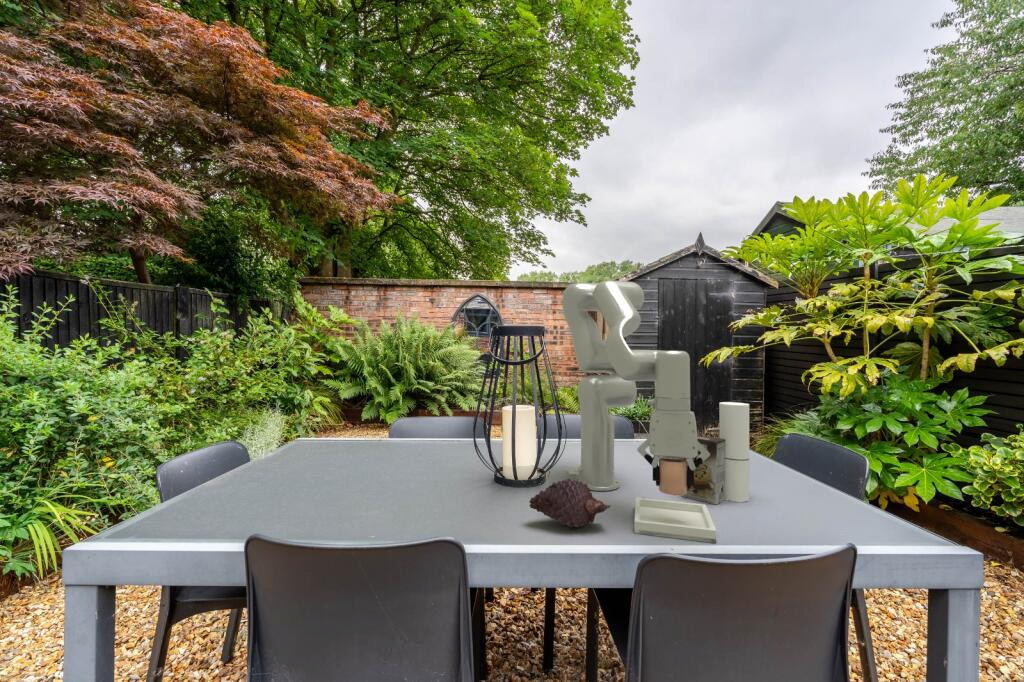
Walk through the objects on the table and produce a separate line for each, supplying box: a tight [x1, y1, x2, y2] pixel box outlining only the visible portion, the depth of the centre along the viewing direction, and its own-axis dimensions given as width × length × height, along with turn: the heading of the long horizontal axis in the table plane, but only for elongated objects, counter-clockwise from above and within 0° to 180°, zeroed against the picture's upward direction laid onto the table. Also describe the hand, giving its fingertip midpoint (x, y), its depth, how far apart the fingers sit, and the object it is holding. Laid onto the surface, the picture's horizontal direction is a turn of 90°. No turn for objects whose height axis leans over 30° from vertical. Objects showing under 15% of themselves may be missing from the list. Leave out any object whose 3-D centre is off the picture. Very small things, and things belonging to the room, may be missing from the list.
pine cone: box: [528, 478, 611, 528], centre depth 98 cm, size 18×10×10 cm, turn 83°
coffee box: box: [681, 434, 725, 506], centre depth 117 cm, size 9×6×16 cm
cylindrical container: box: [718, 401, 750, 503], centre depth 118 cm, size 7×7×25 cm
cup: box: [658, 457, 687, 496], centre depth 99 cm, size 6×6×7 cm
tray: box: [634, 497, 717, 544], centre depth 99 cm, size 16×16×2 cm
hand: (673, 484), depth 99 cm, fingers closed on cup, 6 cm apart
